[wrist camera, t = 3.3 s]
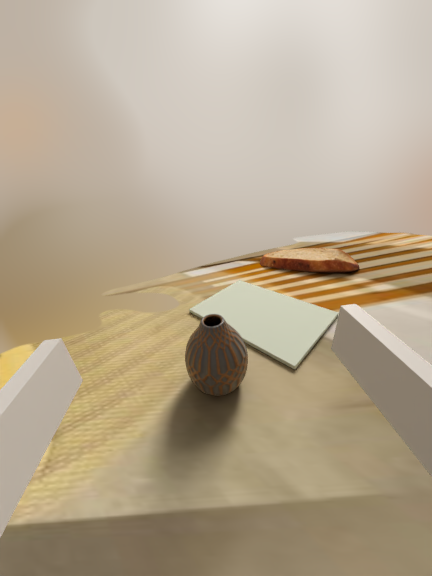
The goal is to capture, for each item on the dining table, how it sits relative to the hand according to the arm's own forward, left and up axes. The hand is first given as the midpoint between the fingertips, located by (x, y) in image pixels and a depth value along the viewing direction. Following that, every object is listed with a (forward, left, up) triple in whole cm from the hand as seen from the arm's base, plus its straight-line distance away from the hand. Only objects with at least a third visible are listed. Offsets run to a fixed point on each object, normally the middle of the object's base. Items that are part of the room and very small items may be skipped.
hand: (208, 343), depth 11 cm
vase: (+7, -7, -15) cm, 18 cm away
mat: (+11, -21, -15) cm, 28 cm away
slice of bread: (+14, -45, -15) cm, 49 cm away
